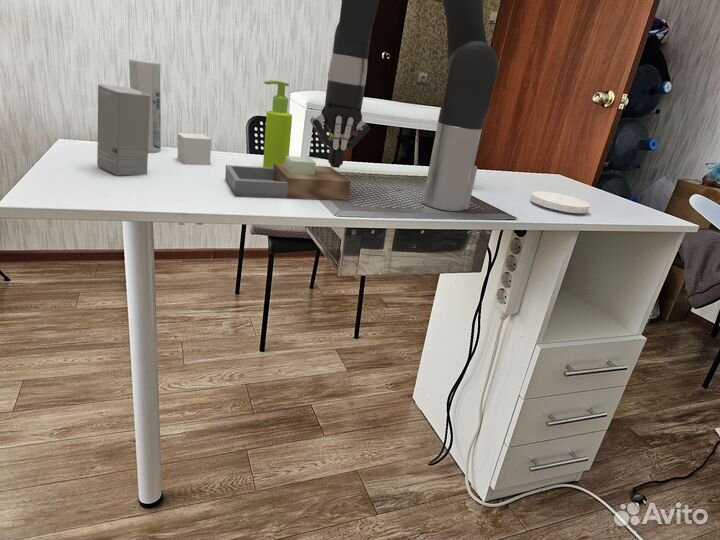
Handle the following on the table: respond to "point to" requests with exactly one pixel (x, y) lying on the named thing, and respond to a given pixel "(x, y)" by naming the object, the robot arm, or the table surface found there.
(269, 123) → the soap dispenser
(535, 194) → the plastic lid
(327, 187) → the brown flat square block
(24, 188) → the table surface
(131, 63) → the spray can
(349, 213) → the table surface
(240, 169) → the box
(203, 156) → the white cube
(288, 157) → the tile
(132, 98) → the skincare box
